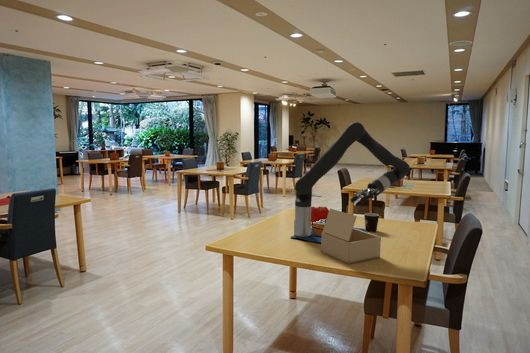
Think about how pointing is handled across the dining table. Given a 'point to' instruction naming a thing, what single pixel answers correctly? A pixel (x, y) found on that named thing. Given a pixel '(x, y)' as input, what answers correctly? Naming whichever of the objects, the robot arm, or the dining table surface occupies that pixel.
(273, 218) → the dining table surface
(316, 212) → the tomato
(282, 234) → the dining table surface
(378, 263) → the dining table surface
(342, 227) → the carton flap
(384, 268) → the dining table surface
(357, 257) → the carton
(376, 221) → the coffee mug
